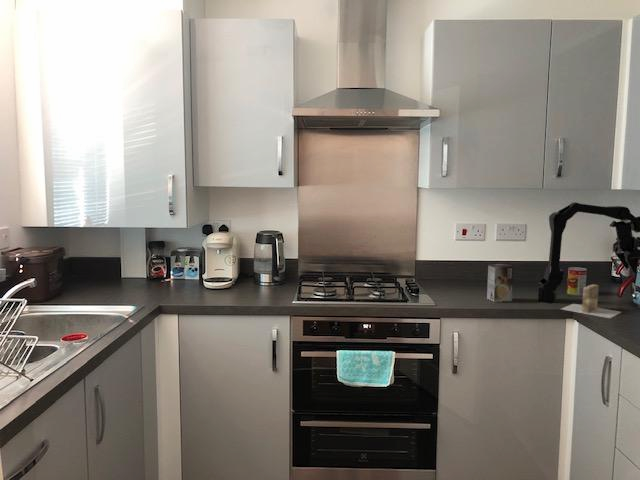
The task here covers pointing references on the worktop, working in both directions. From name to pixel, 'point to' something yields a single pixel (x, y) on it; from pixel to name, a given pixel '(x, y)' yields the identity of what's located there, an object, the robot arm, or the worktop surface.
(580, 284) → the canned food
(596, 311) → the mat
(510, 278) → the coffee box
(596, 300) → the plaque
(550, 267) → the robot arm
